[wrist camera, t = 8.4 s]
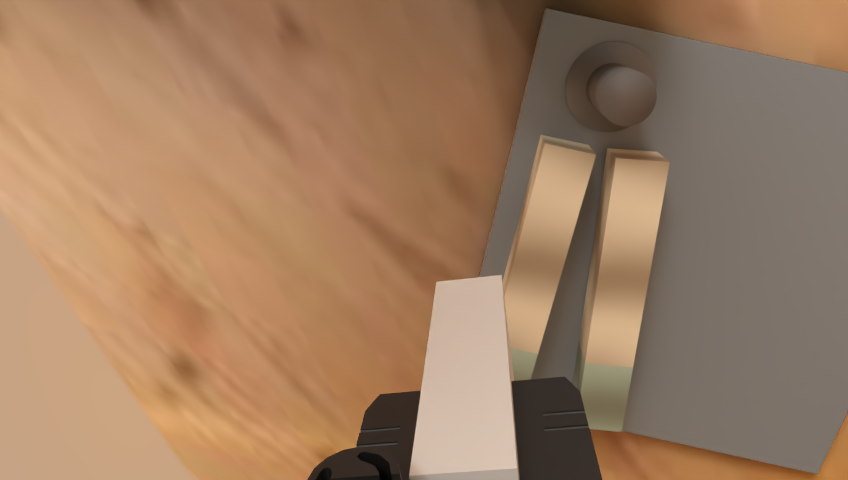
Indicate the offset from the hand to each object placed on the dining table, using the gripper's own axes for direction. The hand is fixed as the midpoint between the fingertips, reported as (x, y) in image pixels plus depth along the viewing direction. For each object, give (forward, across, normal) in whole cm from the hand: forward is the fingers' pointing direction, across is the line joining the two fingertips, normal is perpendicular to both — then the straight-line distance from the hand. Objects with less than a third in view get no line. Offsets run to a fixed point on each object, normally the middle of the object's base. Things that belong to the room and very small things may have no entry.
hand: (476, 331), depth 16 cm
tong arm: (+20, +6, -9) cm, 23 cm away
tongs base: (+20, +4, -5) cm, 22 cm away
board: (+22, +11, -8) cm, 25 cm away
